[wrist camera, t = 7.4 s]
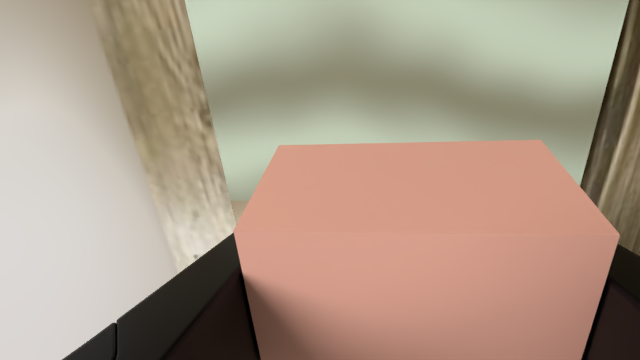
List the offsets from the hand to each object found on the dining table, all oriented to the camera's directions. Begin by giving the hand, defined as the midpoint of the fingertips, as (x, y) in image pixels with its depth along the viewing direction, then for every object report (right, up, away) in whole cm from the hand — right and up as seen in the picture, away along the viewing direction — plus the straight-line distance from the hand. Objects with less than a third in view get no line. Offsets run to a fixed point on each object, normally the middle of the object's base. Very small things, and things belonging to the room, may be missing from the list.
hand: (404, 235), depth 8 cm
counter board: (+2, -1, +14) cm, 14 cm away
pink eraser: (0, -3, +2) cm, 4 cm away
